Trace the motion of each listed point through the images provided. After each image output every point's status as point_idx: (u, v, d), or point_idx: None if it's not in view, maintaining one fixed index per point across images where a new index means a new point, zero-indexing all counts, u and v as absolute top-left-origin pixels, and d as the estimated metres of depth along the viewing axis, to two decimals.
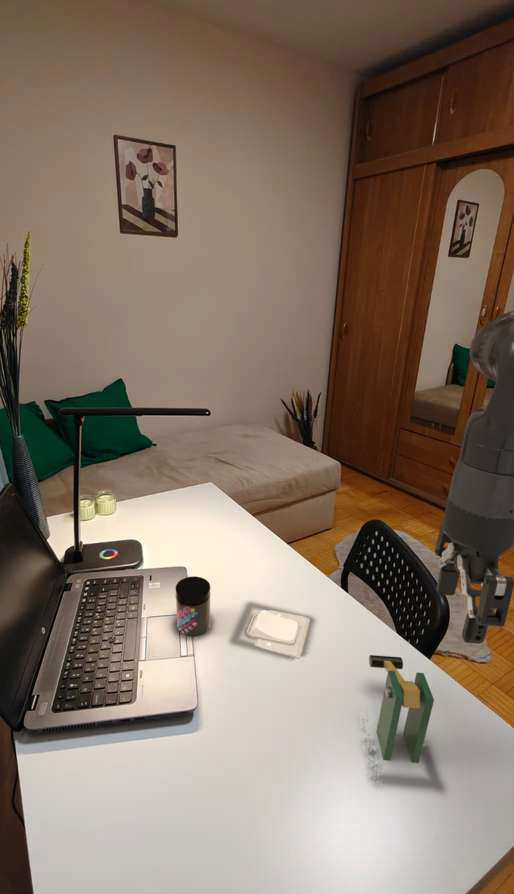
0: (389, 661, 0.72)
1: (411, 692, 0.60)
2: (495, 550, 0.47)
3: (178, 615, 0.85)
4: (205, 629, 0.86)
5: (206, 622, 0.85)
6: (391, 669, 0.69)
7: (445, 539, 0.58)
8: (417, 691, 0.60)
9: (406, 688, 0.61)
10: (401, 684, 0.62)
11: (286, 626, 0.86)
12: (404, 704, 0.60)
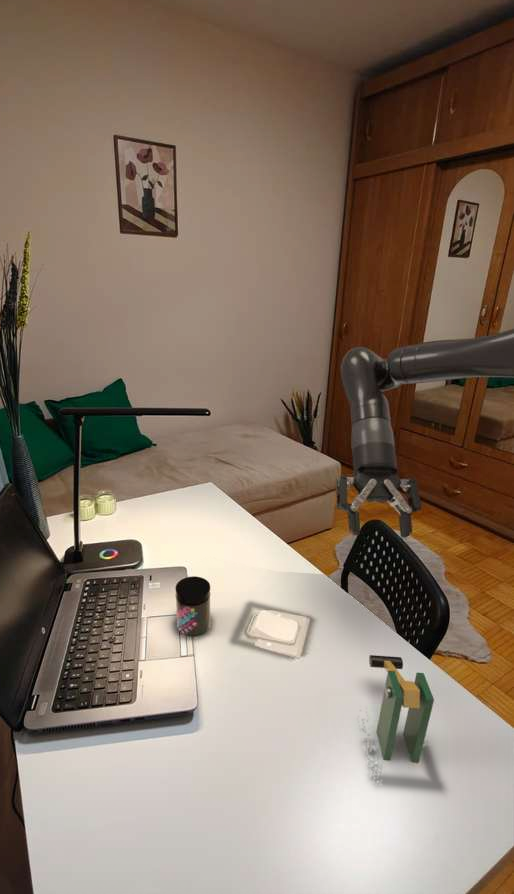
0: (389, 661, 0.72)
1: (411, 692, 0.60)
2: (355, 467, 0.79)
3: (178, 615, 0.85)
4: (205, 629, 0.86)
5: (206, 622, 0.85)
6: (391, 669, 0.69)
7: (407, 496, 0.79)
8: (417, 691, 0.60)
9: (406, 688, 0.61)
10: (401, 684, 0.62)
11: (286, 626, 0.86)
12: (404, 704, 0.60)
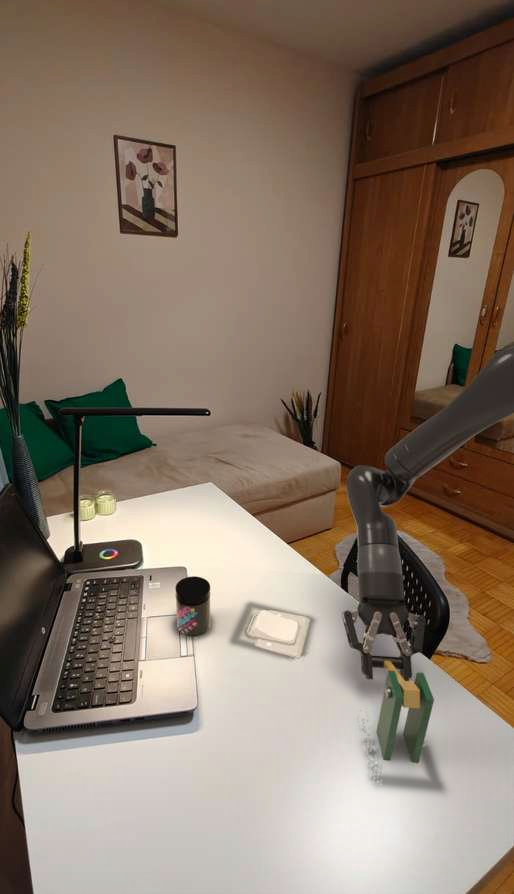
0: (389, 661, 0.72)
1: (411, 692, 0.60)
2: (360, 596, 0.77)
3: (178, 615, 0.85)
4: (205, 629, 0.86)
5: (206, 622, 0.85)
6: (391, 669, 0.69)
7: (412, 632, 0.75)
8: (417, 691, 0.60)
9: (406, 688, 0.61)
10: (401, 684, 0.62)
11: (286, 626, 0.86)
12: (404, 704, 0.60)
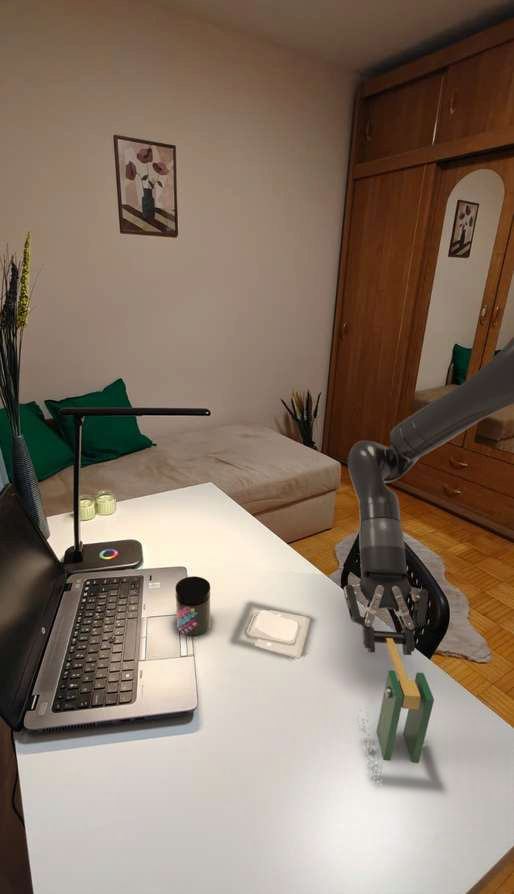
0: (391, 639, 0.71)
1: (412, 697, 0.60)
2: (362, 570, 0.76)
3: (178, 615, 0.85)
4: (205, 629, 0.86)
5: (206, 622, 0.85)
6: (393, 653, 0.68)
7: (415, 606, 0.74)
8: (418, 697, 0.60)
9: (407, 693, 0.60)
10: (402, 686, 0.61)
11: (286, 626, 0.86)
12: (403, 706, 0.61)
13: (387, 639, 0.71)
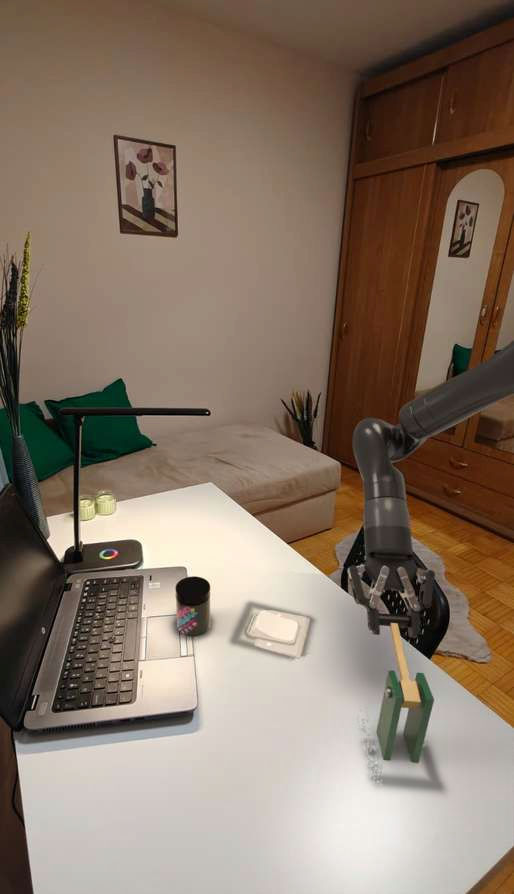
0: (396, 624, 0.69)
1: (412, 702, 0.60)
2: (366, 551, 0.74)
3: (178, 615, 0.85)
4: (205, 629, 0.86)
5: (206, 622, 0.85)
6: (396, 644, 0.67)
7: (421, 588, 0.72)
8: (418, 702, 0.60)
9: (407, 698, 0.60)
10: (403, 689, 0.61)
11: (286, 626, 0.86)
12: (402, 706, 0.61)
13: (392, 624, 0.69)
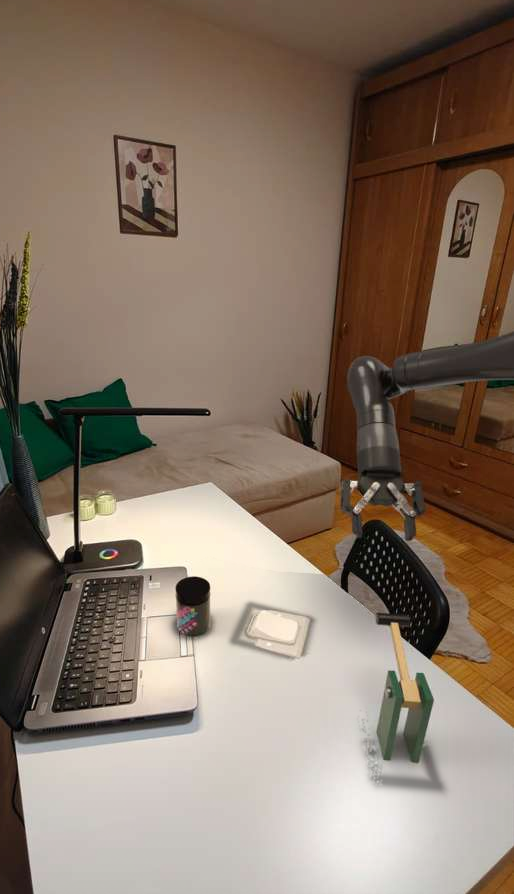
0: (396, 624, 0.69)
1: (412, 702, 0.60)
2: (359, 471, 0.81)
3: (178, 615, 0.85)
4: (205, 629, 0.86)
5: (206, 622, 0.85)
6: (396, 643, 0.66)
7: (412, 500, 0.79)
8: (418, 702, 0.60)
9: (407, 698, 0.60)
10: (403, 689, 0.61)
11: (286, 626, 0.86)
12: (402, 706, 0.61)
13: (392, 624, 0.69)
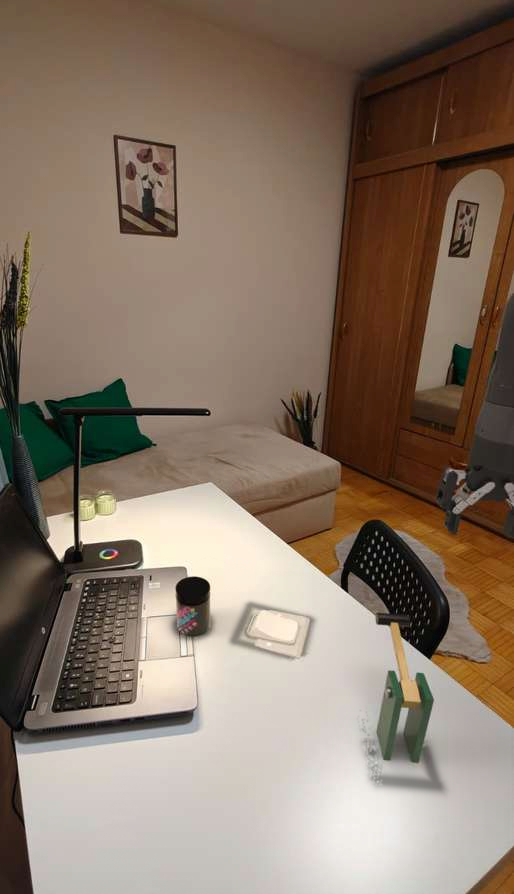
0: (396, 624, 0.69)
1: (412, 702, 0.60)
2: (472, 460, 0.63)
3: (178, 615, 0.85)
4: (205, 629, 0.86)
5: (206, 622, 0.85)
6: (396, 643, 0.66)
7: None
8: (418, 702, 0.60)
9: (407, 698, 0.60)
10: (403, 689, 0.61)
11: (286, 626, 0.86)
12: (402, 706, 0.61)
13: (392, 624, 0.69)
